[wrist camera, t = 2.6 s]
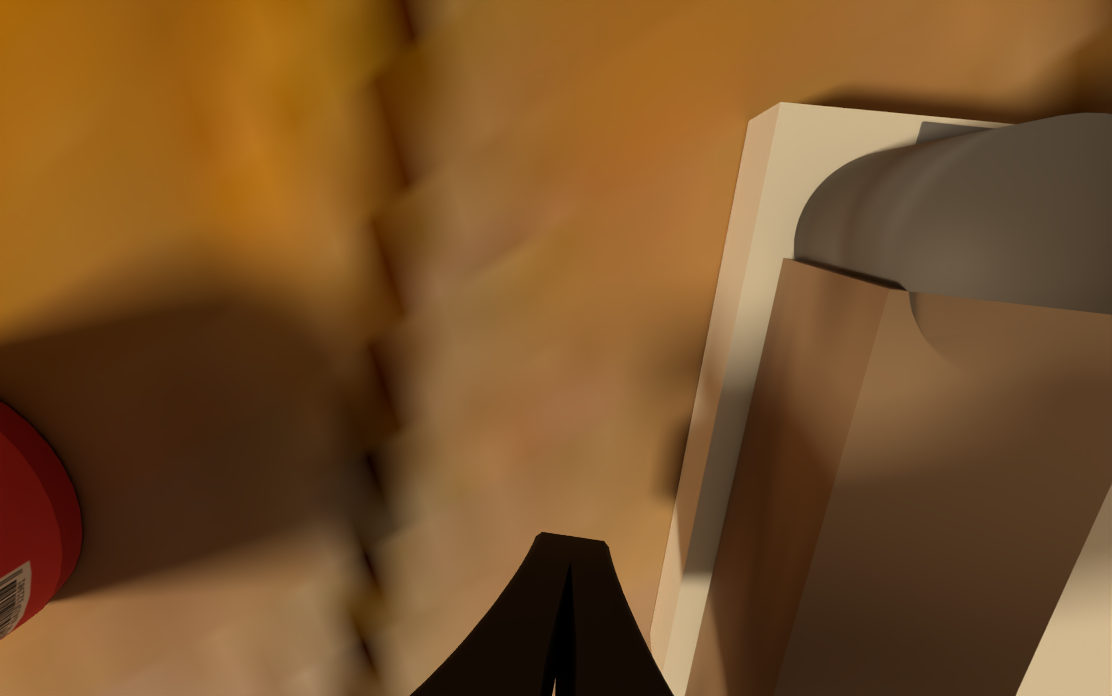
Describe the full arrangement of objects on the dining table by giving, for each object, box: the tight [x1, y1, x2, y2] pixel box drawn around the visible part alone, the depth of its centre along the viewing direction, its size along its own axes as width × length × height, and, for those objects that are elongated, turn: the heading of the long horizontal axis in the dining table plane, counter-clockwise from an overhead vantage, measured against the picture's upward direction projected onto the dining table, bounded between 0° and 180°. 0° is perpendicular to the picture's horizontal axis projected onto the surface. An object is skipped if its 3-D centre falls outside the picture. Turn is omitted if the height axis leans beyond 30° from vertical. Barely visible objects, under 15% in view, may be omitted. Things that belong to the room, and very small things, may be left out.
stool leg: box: [685, 113, 1112, 696], centre depth 8 cm, size 12×3×4 cm, turn 174°
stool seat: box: [650, 102, 1112, 696], centre depth 11 cm, size 13×13×2 cm
